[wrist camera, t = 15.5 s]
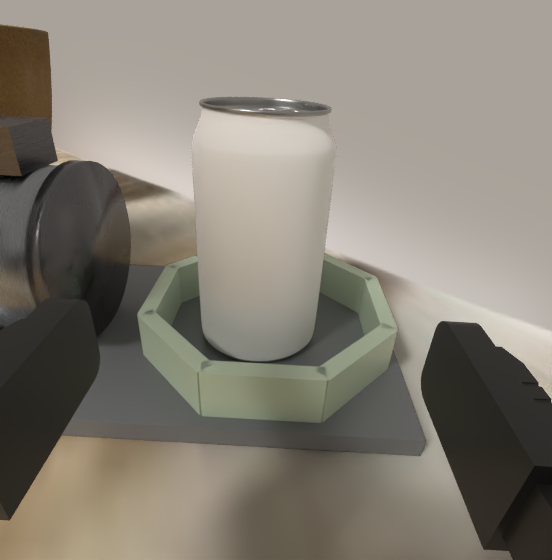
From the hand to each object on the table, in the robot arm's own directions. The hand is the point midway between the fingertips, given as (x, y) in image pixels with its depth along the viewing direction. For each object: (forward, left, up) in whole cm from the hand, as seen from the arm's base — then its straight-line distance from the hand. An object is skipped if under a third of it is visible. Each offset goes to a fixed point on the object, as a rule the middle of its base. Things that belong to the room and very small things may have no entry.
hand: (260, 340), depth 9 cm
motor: (-12, +11, -8) cm, 18 cm away
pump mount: (-5, +11, -9) cm, 15 cm away
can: (-1, +11, -8) cm, 14 cm away
